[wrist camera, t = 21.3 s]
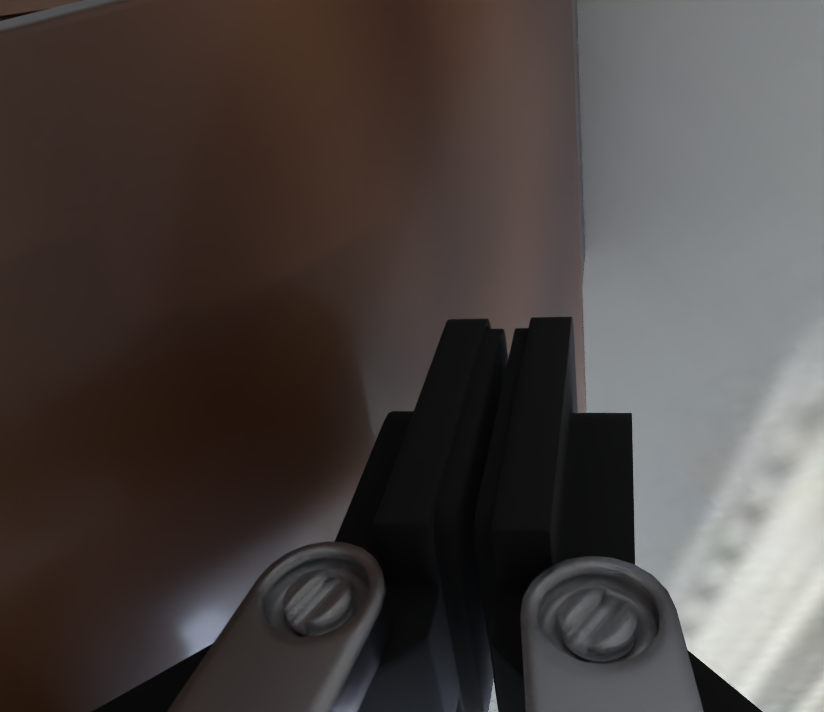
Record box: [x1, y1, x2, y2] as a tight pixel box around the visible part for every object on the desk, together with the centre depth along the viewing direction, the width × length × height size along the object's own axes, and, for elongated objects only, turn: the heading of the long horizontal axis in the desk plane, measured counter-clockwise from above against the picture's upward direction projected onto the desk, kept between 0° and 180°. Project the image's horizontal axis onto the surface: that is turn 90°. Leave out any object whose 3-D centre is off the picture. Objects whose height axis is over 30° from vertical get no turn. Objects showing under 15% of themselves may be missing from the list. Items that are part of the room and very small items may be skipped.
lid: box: [0, 0, 586, 712], centre depth 12 cm, size 15×12×1 cm
